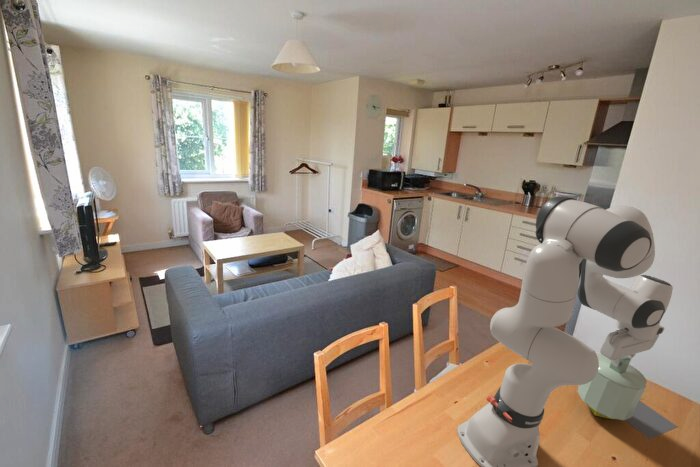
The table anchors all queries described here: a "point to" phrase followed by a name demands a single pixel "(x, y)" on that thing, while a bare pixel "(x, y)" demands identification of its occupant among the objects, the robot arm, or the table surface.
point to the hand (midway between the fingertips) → (619, 363)
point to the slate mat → (649, 421)
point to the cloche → (614, 389)
